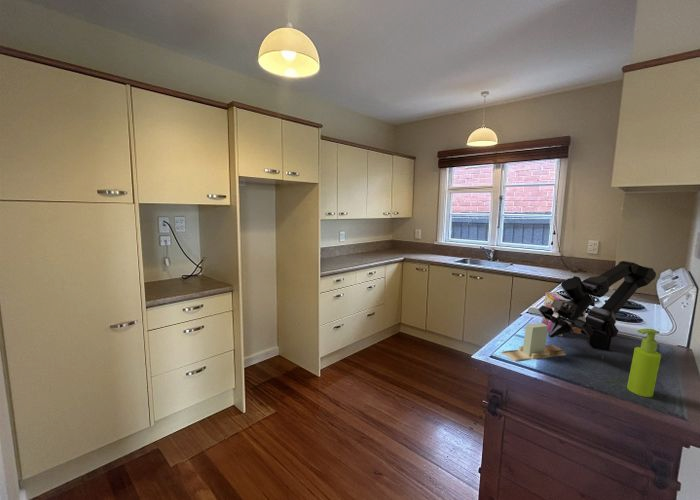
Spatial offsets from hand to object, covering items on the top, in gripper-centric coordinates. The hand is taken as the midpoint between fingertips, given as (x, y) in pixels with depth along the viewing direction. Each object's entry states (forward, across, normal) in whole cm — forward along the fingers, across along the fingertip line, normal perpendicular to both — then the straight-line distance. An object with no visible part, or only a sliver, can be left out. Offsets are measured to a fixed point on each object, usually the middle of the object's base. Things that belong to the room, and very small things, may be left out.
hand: (549, 336), depth 118 cm
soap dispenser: (0, +26, +10) cm, 28 cm away
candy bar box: (-10, -16, +20) cm, 27 cm away
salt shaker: (-18, -15, +27) cm, 36 cm away
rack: (+9, 0, 0) cm, 9 cm away
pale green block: (+9, 0, 0) cm, 9 cm away
